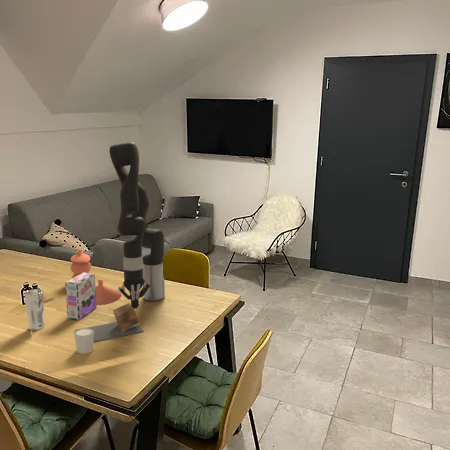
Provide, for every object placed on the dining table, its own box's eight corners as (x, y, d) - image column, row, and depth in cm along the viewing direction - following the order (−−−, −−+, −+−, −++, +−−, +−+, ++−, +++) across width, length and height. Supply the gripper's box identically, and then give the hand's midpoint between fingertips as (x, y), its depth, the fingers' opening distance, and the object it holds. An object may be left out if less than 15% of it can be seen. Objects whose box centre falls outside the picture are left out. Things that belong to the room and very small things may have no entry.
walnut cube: (134, 317, 185) (128, 302, 183) (139, 323, 179) (133, 309, 176) (118, 324, 182) (112, 310, 180) (122, 331, 176) (117, 316, 174)
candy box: (79, 320, 187) (76, 283, 183) (67, 318, 188) (64, 281, 185) (97, 307, 200) (95, 272, 196) (85, 306, 201) (83, 271, 198)
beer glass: (49, 324, 182) (47, 290, 179) (37, 332, 176) (34, 296, 173) (36, 322, 185) (33, 288, 181) (23, 329, 178) (20, 293, 175)
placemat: (133, 319, 188) (133, 318, 188) (143, 331, 177) (143, 330, 177) (74, 330, 177) (74, 329, 177) (81, 344, 166) (81, 343, 166)
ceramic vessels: (132, 298, 212) (131, 260, 207) (91, 310, 197) (88, 269, 193) (96, 279, 236) (94, 245, 232) (57, 289, 222) (54, 252, 218)
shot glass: (77, 345, 166) (76, 328, 164) (96, 345, 166) (95, 327, 165) (73, 354, 159) (72, 336, 157) (92, 354, 159) (91, 336, 158)
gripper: (146, 262, 183) (147, 301, 187) (114, 266, 177) (116, 307, 180) (152, 267, 176) (153, 308, 180) (119, 272, 170) (121, 314, 174)
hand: (134, 307), depth 180 cm, fingers closed
